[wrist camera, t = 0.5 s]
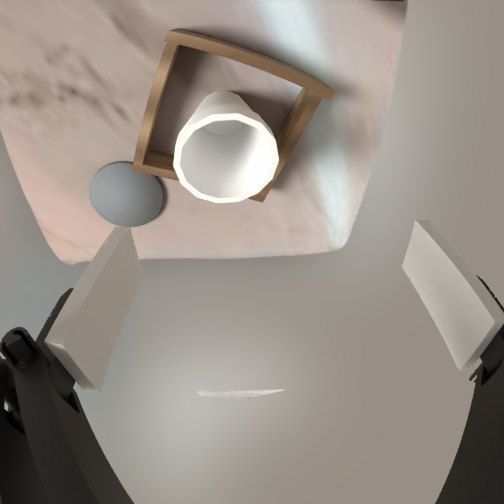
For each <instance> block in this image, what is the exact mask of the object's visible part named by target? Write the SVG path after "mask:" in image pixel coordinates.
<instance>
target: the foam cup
mask: <svg viewBox="0 0 504 504" xmlns="http://www.w3.org/2000/svg"><path fill="white" fill-rule="evenodd" d="M278 162H279V156H278V151H277V145H276V140H275V137H274V135H273V133H272V131H271V129H270V128H269V126H268V125H267V124H266V123H265V122H264V121H263V119H262V118H261V117H260V116H259V115H258V114H257V113H255V112H253V111H252V110H251V109H250V107H249V106H248V105H247V104H246V103H245V102H244V101H243V99H242V98H241V97H240V96H239V95H237V94H235V93H232V92H230V91H216V92H214V93H212V94H210V95H208V96H206V97H205V99H204V100H203V101H202V102H201V104H200V105H199V106H198V108H197V109H196V111H195V112H194V114H193V115H192V117H191V118H190V119H189V120H188V122H187V123H186V124H185V126H184V127H183V129H182V130H181V131H180V133H179V134H178V138H177V142H176V146H175V154H174V162H173V167H174V169H175V171H176V174H177V176H178V178H179V181H180V183H181V184H182V185H183V186H184V187H185V188H186V189H188V190H189V191H190V192H191V193H192V194H194V195H195V196H196V197H198V198H202V199H205V200H208V201H212V202H215V203H226V202H239V201H241V200H244V199H246V198H248V197H251V196H253V195H255V194H258V193H259V192H260V191H261V190H262V189H263V188H264V187H265V186H266V185H267V184H268V183H269V182H270V181H271V180H272V179H273V176H274V173H275V170H276V168H277V165H278Z"/></svg>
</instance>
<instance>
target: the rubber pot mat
mask: <svg viewBox="0 0 504 504" xmlns="http://www.w3.org/2000/svg"><path fill="white" fill-rule="evenodd" d="M132 167H133V163H132V162H126V161H120V162H114V163H110V164H108V165H106V166H104V167H102V168H101V169H100V170H99V171H98V172H97V173H96V174H95V176H94V178H93V179H92V182H91V184H90V189H89V196H90V200H91V203H92V205H93V207H94V209H95V210H96V211H97V213H98V214H99V215H100V216H101V217H103V218H104V219H105V220H107V221H109V222H111V223H113V224H116V225H119V226H124V227H127V226H130V227H136V226H141V225H144V224H146V223H148V222H150V221H151V220H153V219H154V218H155V217H156V216H157V215H158V213H159V211H160V210H161V207H162V202H163V190H162V187H161V184H160V182H159V181H158V179H157V178H156V177H155V175H151V174H146V173H141V172H137V171H132Z"/></svg>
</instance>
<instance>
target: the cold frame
mask: <svg viewBox="0 0 504 504" xmlns="http://www.w3.org/2000/svg"><path fill="white" fill-rule="evenodd" d="M165 42H167V43H166V46H165V49H164V52H163V54H162V57H161V60H160V63H159V66H158V69H157V72H156V75H155V79H154V82H153V85H152V88H151V92H150V95H149V99H148V102H147V106H146V110H145V114H144V118H143V122H142V126H141V130H140V134H139V138H138V143H137V147H136V152H135V157H134V162H133V167H132V171H137V172H141V173H146V174H151V175H155V176H160V177H164V178H168V179H173V180H177V181H179V178H178V176H177V174H176V171H175V169H174V167H173V162H174V156H172V155H167V154H163V153H159V152H154V151H150V150H148V148H149V144H150V140H151V136H152V132H153V129H154V125H155V121H156V118H157V114H158V111H159V107H160V104H161V101H162V97H163V94H164V91H165V88H166V85H167V82H168V79H169V76H170V73H171V70H172V67H173V64H174V62H175V59H176V56H177V53H178V51H179V48H180V46H181V45H183V46H187V47H191V48H195V49H199V50H203V51H206V52H210V53H213V54H216V55H220V56H223V57H226V58H229V59H232V60H235V61H238V62H241V63H244V64H247V65H250V66H253V67H255V68H258V69H261V70H263V71H266V72H268V73H271V74H273V75H276V76H278V77H281V78H283V79H286V80H288V81H290V82H293V83H295V84H297V85H299V86H301V87H303V88H302V90H301V92H300V94H299V96H298V98H297V99H296V101H295V103H294V105H293V107H292V109H291V110H290V112H289V114H288V116H287V118H286V120H285V122H284V123H283V125H282V127H281V129H280V131H279V133H278V135H277V137H276V138H275V140H276V145H277V151H278V156H279V162H278V165H277V168H276V170H275V173H274V176H273V179H272V180H271V181H270V182H269V183H268V184H267V185H266V186H265V187H264V188H263V189H262V190H261V191H260V192H259V193H258V194H255V195H253V196H251V197H248V199H252V200H256V201H259V202H263V201H264V200H265V198H266V196H267V194H268V192H269V191H270V189H271V187H272V185H273V183H274V182H275V180H276V178H277V176H278V175H279V173H280V171H281V169H282V167H283V166H284V164H285V162H286V160H287V159H288V157H289V155H290V153H291V152H292V150H293V148H294V146H295V145H296V143H297V141H298V139H299V138H300V136H301V134H302V132H303V131H304V129H305V127H306V125H307V124H308V122H309V120H310V118H311V117H312V115H313V113H314V111H315V110H316V108H317V106H318V104H319V103H320V101H321V99H322V98H323V97H324V98H326V99H328V100H330V99H331V97H332V96H333V94H334V92H335V91H333V90H332V89H331V88H330V87H328V86H327V85H326V84H324V83H323V82H321V81H320V80H319V79H317V78H315V77H313V76H311V75H309V74H307V73H305V72H303V71H300V70H298V69H296V68H294V67H292V66H289V65H287V64H285V63H282V62H280V61H278V60H275V59H273V58H270V57H268V56H265V55H263V54H260V53H257V52H255V51H252V50H249V49H246V48H244V47H241V46H238V45H235V44H232V43H229V42H225V41H222V40H219V39H216V38H212V37H209V36H205V35H201V34H198V33H194V32H190V31H185V30H181V29H173V30H169V31H168V34H167V36H166V39H165Z"/></svg>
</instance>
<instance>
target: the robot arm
mask: <svg viewBox="0 0 504 504" xmlns="http://www.w3.org/2000/svg"><path fill="white" fill-rule="evenodd" d="M402 268H403V269H404V271H405V273H406V274H407V276H408V277H409V279H410V281H411V282H412V284H413V285H414V287H415V289H416V290H417V292H418V294H419V295H420V297H421V299H422V300H423V302H424V304H425V306H426V307H427V309H428V311H429V313H430V315H431V316H432V318H433V320H434V322H435V324H436V325H437V327H438V329H439V331H440V333H441V335H442V337H443V339H444V340H445V343H446V345H447V346H448V349H449V351H450V353H451V355H452V357H453V359H454V361H455V363H456V365H457V367H458V369H459V371H461V370H464V369H466V368H470V367H472V366H473V364H474V363H475V362H476V361H477V360H478V359H479V357H480V358H481V360H482V363H481V364H480V366H479V367H478V368H477V369H476V370H475V372H474V373H473V374H472V375H471V377H470V379H469V380H470V381H471V380H472V379H473V378H474V377H475V375H477V378H476V380H475V381H474V382H475V383H476V385H475V390H474V394H473V399H472V403H471V407H470V411H469V415H468V419H467V422H466V426H465V429H464V433H463V436H462V439H461V442H460V446H459V448H458V451H457V454H456V457H455V459H454V462H453V465H452V468H451V470H450V473H449V475H448V477H447V480H446V482H445V484H444V486H443V488H442V491H441V493H440V495H439V497H438V499H437V501H436V503H435V504H504V308H503V307H502V305H501V304H500V302H499V301H498V299H497V298H495V297H494V294H493V293H492V291H490V289H489V287H488V286H487V285H486V283H485V282H484V281H483V280H482V279H481V278H480V277H478V276H477V275H476V274H475V273H474V272H473V271H472V270H471V268H470V267H469V266H468V265H467V264H466V262H465V261H464V260H463V259H462V258H461V256H460V255H459V254H458V253H457V252H456V251H455V250H454V248H453V247H452V246H451V245H450V244H449V243H448V242H447V240H446V239H445V238H444V237H443V236H442V235H441V234H440V233H439V232H438V231H437V230H436V229H435V228H434V226H433V225H432V224H430V223H429V221H427V220H415V225H414V229H413V232H412V236H411V239H410V243H409V246H408V249H407V252H406V256H405V259H404V262H403V265H402ZM142 278H143V272H142V268H141V265H140V262H139V258H138V255H137V251H136V248H135V244H134V240H133V237H132V233H131V229H130V226H127V227H115V228H114V230H113V231H112V232H111V234H110V235H109V237H108V238H107V239H106V241H105V242H104V244H103V245H102V246H101V248H100V249H99V251H98V252H97V254H96V255H95V257H94V258H93V260H92V261H91V263H90V264H89V266H88V267H87V269H86V270H85V272H84V273H83V275H82V276H81V278H80V280H79V281H78V283H77V284H76V286H75V288H74V289H73V288H70V289H69V290H68V291H66V292H65V293H64V294H63V295H62V296H61V297H60V299H59V301H58V302H57V304H56V306H55V308H54V309H53V311H52V313H51V314H50V315H51V316H50V317H48V319H47V321H46V323H45V325H44V326H43V328H42V330H41V332H40V334H39V336H38V337H37V340H36V341H34V340H33V338H32V337H31V336H30V334H29V333H28V331H27V330H26V329H24V328H22V327H17V328H14V329H12V330H10V331H9V332H8V333H7V334H6V335H5V336H4V337H3V338H2V341H1V343H0V352H1V353H2V354H3V355H4V356H5V358H6V359H2V358H1V356H0V504H134V503H133V501H132V500H131V498H130V497H129V495H128V494H127V492H126V491H125V489H124V488H123V486H122V484H121V483H120V481H119V479H118V478H117V476H116V474H115V473H114V471H113V469H112V468H111V466H110V464H109V462H108V460H107V459H106V457H105V455H104V453H103V451H102V449H101V447H100V445H99V443H98V441H97V439H96V437H95V435H94V433H93V431H92V429H91V427H90V424H89V422H88V420H87V418H86V415H85V413H84V411H83V408H82V406H81V403H80V401H79V398H78V396H77V393H76V392H75V390H74V389H73V386H74V384H75V381H76V382H77V383H78V385H79V386H80V387H81V388H82V389H83V390H88V391H92V392H97V393H100V391H101V388H102V385H103V381H104V378H105V375H106V372H107V369H108V366H109V363H110V360H111V357H112V354H113V352H114V348H115V346H116V343H117V340H118V338H119V335H120V332H121V330H122V327H123V324H124V321H125V319H126V317H127V314H128V311H129V309H130V306H131V304H132V302H133V299H134V296H135V294H136V292H137V289H138V287H139V284H140V282H141V280H142ZM4 402H5V403H7V404H8V411H6V410H5V409H4Z"/></svg>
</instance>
